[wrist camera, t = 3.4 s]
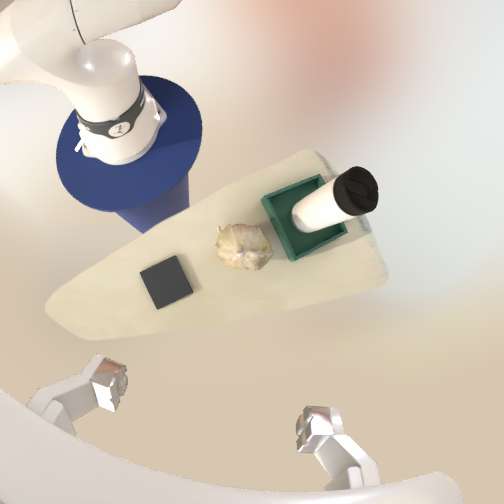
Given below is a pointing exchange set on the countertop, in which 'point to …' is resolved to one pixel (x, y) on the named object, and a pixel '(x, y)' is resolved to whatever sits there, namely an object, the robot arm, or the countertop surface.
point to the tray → (279, 215)
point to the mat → (166, 282)
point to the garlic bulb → (243, 247)
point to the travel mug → (336, 201)
